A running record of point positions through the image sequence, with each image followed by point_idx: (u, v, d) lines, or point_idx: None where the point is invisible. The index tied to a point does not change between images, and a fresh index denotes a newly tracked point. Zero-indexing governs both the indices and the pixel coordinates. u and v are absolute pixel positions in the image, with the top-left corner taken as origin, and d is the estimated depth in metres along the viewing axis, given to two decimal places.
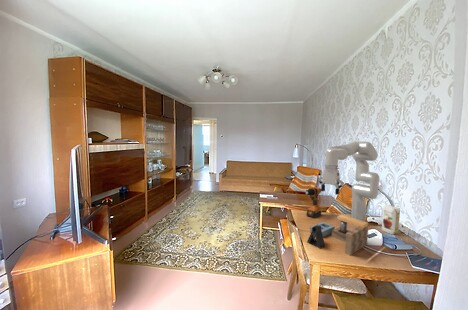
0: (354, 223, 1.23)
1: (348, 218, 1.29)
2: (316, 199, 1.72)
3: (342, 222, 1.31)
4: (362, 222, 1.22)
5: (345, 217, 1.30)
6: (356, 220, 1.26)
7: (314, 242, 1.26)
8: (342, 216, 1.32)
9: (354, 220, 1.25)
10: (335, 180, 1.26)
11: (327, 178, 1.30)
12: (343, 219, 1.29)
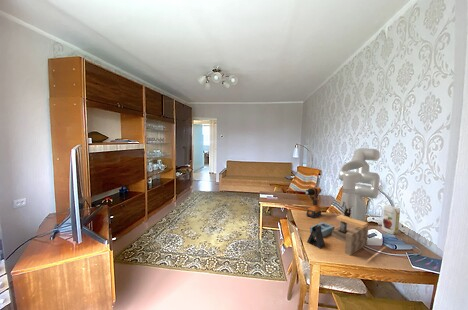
0: (353, 223, 1.23)
1: (347, 218, 1.28)
2: (316, 199, 1.72)
3: (342, 222, 1.31)
4: (362, 222, 1.22)
5: (344, 217, 1.30)
6: (355, 220, 1.25)
7: (314, 242, 1.26)
8: (341, 216, 1.31)
9: (353, 221, 1.25)
10: (354, 202, 1.34)
11: (351, 203, 1.30)
12: (342, 219, 1.28)
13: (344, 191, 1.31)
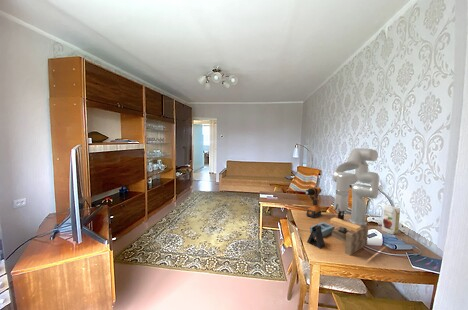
0: (347, 227, 1.18)
1: (341, 221, 1.23)
2: (316, 199, 1.72)
3: None
4: (355, 226, 1.17)
5: (338, 220, 1.25)
6: (349, 223, 1.20)
7: (314, 242, 1.26)
8: (335, 219, 1.27)
9: (347, 224, 1.20)
10: None
11: (344, 205, 1.25)
12: (336, 222, 1.24)
13: (337, 193, 1.26)
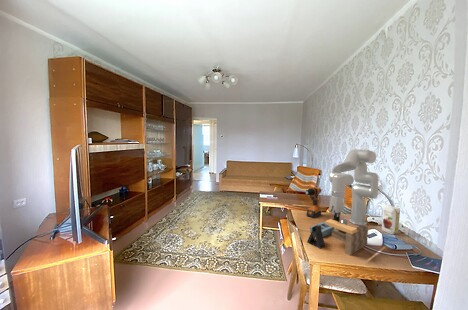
0: (342, 229, 1.15)
1: (336, 223, 1.20)
2: (316, 199, 1.72)
3: (342, 222, 1.31)
4: (351, 228, 1.14)
5: (333, 222, 1.22)
6: (345, 225, 1.17)
7: (314, 242, 1.26)
8: (330, 221, 1.24)
9: (342, 226, 1.17)
10: None
11: (340, 206, 1.23)
12: (331, 224, 1.21)
13: (333, 194, 1.23)
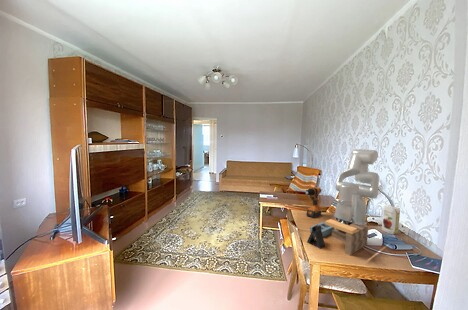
0: (342, 229, 1.15)
1: (336, 223, 1.20)
2: (316, 199, 1.72)
3: (342, 222, 1.31)
4: (351, 228, 1.14)
5: (333, 222, 1.22)
6: (345, 225, 1.17)
7: (314, 242, 1.26)
8: (330, 221, 1.23)
9: (342, 226, 1.17)
10: None
11: None
12: (331, 224, 1.21)
13: (349, 204, 1.27)
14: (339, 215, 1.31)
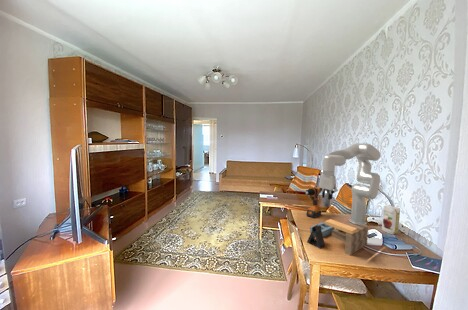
0: (342, 229, 1.15)
1: (336, 223, 1.20)
2: (316, 199, 1.72)
3: (326, 191, 1.38)
4: (351, 228, 1.14)
5: (333, 222, 1.22)
6: (345, 225, 1.17)
7: (314, 242, 1.26)
8: (330, 221, 1.23)
9: (342, 226, 1.17)
10: None
11: None
12: (331, 224, 1.21)
13: (332, 173, 1.34)
14: (323, 185, 1.39)
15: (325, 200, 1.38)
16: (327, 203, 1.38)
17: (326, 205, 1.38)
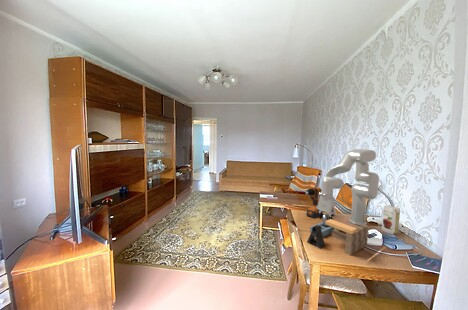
0: (342, 229, 1.15)
1: (336, 223, 1.20)
2: (316, 199, 1.72)
3: (324, 216, 1.40)
4: (351, 228, 1.14)
5: (333, 222, 1.22)
6: (345, 225, 1.17)
7: (314, 242, 1.26)
8: (330, 221, 1.23)
9: (342, 226, 1.17)
10: None
11: None
12: (331, 224, 1.21)
13: (330, 197, 1.36)
14: (321, 207, 1.40)
15: (323, 225, 1.40)
16: None
17: None
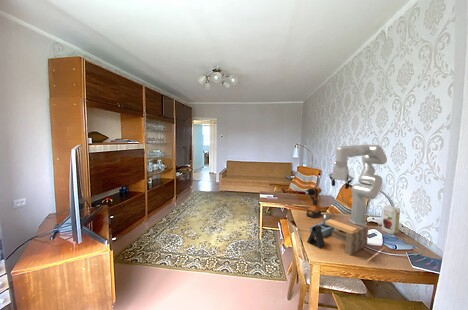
0: (342, 229, 1.15)
1: (336, 223, 1.20)
2: (316, 199, 1.72)
3: (324, 217, 1.39)
4: (351, 228, 1.14)
5: (333, 222, 1.22)
6: (345, 225, 1.17)
7: (314, 242, 1.26)
8: (330, 221, 1.23)
9: (342, 226, 1.17)
10: None
11: None
12: (331, 224, 1.21)
13: (345, 164, 1.38)
14: (336, 176, 1.42)
15: (324, 225, 1.40)
16: None
17: None
